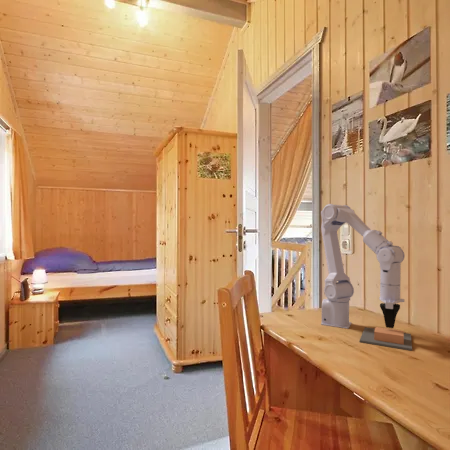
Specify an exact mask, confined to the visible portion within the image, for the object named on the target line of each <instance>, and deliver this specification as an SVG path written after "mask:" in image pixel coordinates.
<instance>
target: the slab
mask: <svg viewBox="0 0 450 450" xmlns="http://www.w3.org/2000/svg"><path fill="white" fill-rule="evenodd" d="M374 329H375V331H374V340H378V341H385V342H391V343H397V344H403V345H404V333H405V332H404V331H405V330H401V329H394V328H387V327H386V328H385V327H380V326H375V328H374Z"/></svg>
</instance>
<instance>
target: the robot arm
mask: <svg viewBox="0 0 450 450" xmlns="http://www.w3.org/2000/svg"><path fill="white" fill-rule="evenodd" d="M320 216H321V225H320V226H321V227H320V230H321V235H322V236H321V237H322V242H323V248H324V254H325V260H326V266H327V271H328V275H327V276H326V278H325V279H324V287H323V292H324V296H325V297H326V298H323V299H322V302H321V323H320V325H322V326H328V327H336V328H341V329H349V328H350V327H351V325H352V322H351V321H350V301H351V298H352V297H353V296H354V293H355V289H354V288H355V287H354V286H353V284H352V282H351V279H350V276H348V275H347V274H346V272H345V270H344V263H343V260H342V259H343V258H342V253H341V248H340V241H339V234H338V231H339V229H340V228H341V227H343V225H346V224H347V225H349V226H350V227H351V228H352V229H354V230H355V231H356V232H357V233H358V234H359V235H360V236H362V242H363V243H364V244H365V245H366V246H367V247H368V248H369V249H370V250H371V251H372V252H374V254H375V255H376V260H377V262H378V264H379V268H380V271H379V272H380V273H379V274H380V280H379V281H380V282H379V283H380V284H379V285H380V286H379V298H378V299H379V301H381V302H382V303H380V304H379V307H380V309H381V312H382V315H383V318H384V319H383V320H384V325H385V327H386V328H387V329H394V327H395V323H396V319H397V314H398V312H399V311H400V309H401V304H399V303H405V299H404V298H401V281H402V280H401V279H402V277H401V272H402V271H401V270H402V269H401V268H402V266H401V265H402V264H401V263H402V262H403V261H404V259H405V252H404V250H403V249H402V247H401V246H399V245H393V242H392V241H390V240H388V239H387V238H386V237H385V236H384V235H383V232H382V231H381V230H376V229H371V228H370V227H369V226H368V225H367V224H366V223H365V222H364V221H363V220H362V218H360V217H359V216H358V215H357V214H356V212H355V210H354V209H352V208H351V207H350V206H349V205H347V204H344V205H341V204H333V203H328V204H327V203H326V205H324V207H323V209H322V210H321V211H320Z"/></svg>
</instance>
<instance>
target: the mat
mask: <svg viewBox="0 0 450 450" xmlns="http://www.w3.org/2000/svg"><path fill="white" fill-rule="evenodd" d="M374 331H375V328H374V327H367V326H366V327H363V331H362V334H361V336H360V338H359V343H363V344H367V345H368V344H369V345H373V346H375V345H376V346H381V347H387V348H393V349H399V350H406V351H410V352H411V351H413V345H412V344H413V343H412V334H411V333H408V332H404V345H403V344H397V343H391V342H385V341H378V340H374Z"/></svg>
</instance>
